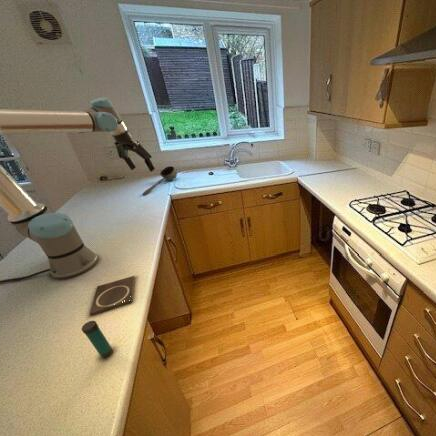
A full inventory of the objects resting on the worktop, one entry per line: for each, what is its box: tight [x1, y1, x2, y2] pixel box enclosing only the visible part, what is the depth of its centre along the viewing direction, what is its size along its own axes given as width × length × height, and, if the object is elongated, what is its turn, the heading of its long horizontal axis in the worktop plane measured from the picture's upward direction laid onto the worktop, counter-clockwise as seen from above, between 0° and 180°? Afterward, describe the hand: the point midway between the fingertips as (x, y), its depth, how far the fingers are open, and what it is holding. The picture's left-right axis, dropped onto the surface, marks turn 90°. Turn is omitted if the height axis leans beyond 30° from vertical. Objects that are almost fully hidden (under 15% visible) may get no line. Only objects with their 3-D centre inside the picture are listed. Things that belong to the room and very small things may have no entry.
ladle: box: [142, 165, 178, 196], centre depth 184 cm, size 12×38×10 cm, turn 171°
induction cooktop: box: [89, 275, 136, 316], centre depth 86 cm, size 12×14×1 cm
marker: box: [81, 320, 114, 359], centre depth 64 cm, size 3×3×12 cm
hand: (143, 169), depth 132 cm, fingers open, 13 cm apart
